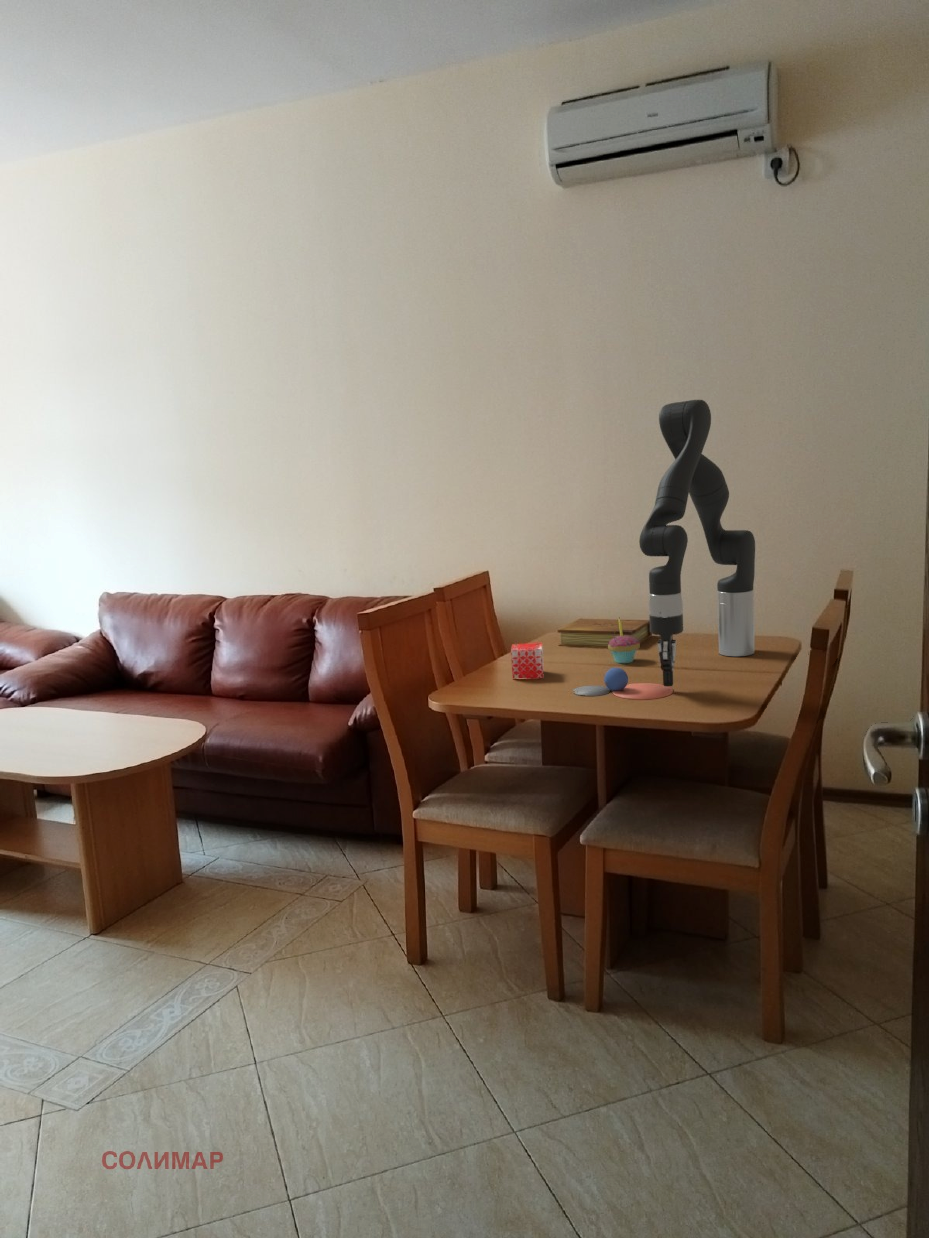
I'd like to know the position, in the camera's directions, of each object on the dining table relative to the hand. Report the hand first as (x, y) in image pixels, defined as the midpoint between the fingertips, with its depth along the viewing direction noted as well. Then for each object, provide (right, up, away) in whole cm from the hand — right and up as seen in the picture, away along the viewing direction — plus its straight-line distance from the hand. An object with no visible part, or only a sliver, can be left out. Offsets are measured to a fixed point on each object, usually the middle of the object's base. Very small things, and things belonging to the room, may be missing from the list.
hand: (668, 685), depth 203 cm
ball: (-12, +1, +4) cm, 12 cm away
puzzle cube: (-31, 0, +26) cm, 40 cm away
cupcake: (-4, +4, +34) cm, 34 cm away
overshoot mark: (-17, -2, +6) cm, 18 cm away
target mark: (-6, -2, +2) cm, 6 cm away
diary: (-5, +8, +62) cm, 62 cm away
